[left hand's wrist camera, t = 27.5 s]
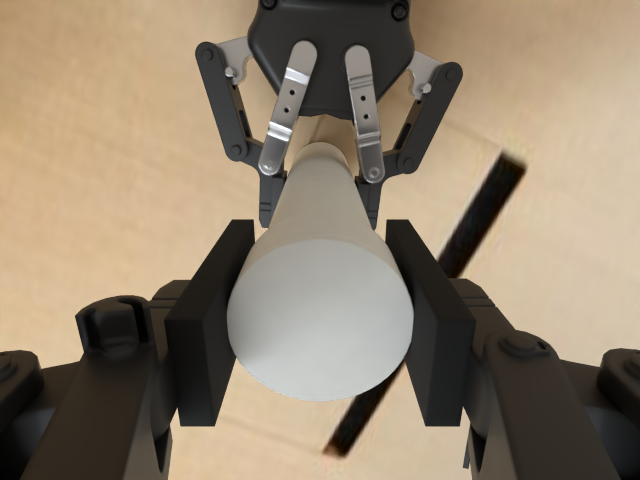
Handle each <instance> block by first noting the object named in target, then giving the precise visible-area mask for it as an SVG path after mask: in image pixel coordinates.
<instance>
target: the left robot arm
mask: <svg viewBox="0 0 640 480" xmlns="http://www.w3.org/2000/svg"><path fill="white" fill-rule="evenodd" d="M385 243H386V245H387V246H388V248H389V249H390V251H391V253H392V255H393V257H394V260H395V262H396V264H397V266H398V269H399V271H400V273H401V275H402V278H403V280H404V282H405V285H406V287H407V289H408V292H409V294H410V297H411V300H412V304H413V308H414V318H413V329H412V339H411V343H410V345H409V348H408V350H407V352H406V354H405V356H404V359H405V362H406V366H407V369H408V372H409V375H410V378H411V381H412V385H413V388H414V391H415V394H416V397H417V401H418V404H419V407H420V410H421V413H422V417H423V420H424V423H425V426H460V421H461V415H462V409H463V407H464V409H465V411H466V413H467V415H468V418H469V420H470V428H469V434H468V440H467V446H466V451H465V457H464V464H463V468H467V469H468V468H469V463H470V464H471V472H472V480H640V350H635V349H633V350H632V349H623V348H619V349H612V350H609V351H607V352H606V353H605V354H604V355H603V358H602V362H601V365H600V367H596V366H590V365H585V364H580V363H575V362H569V361H565V360H561V359H559V357H558V355H557V353H556V351H555V350H554V349H553V348H552V347H551V345H550V344H548V343H547V342H545V341H544V340H542V339H541V338H539V337H537V336H535V335H532V334H530V333H527V332H524V331H519V330H515V329H514V327H513V326H512V325H511V324H510V322H509V321H508V320H507V319H506V318H505V316H504V315H503V314H502V313H501V311H500V310H499V309H498V308H497V307H495V304H494V303H493V302H492V300H491V299H489V297H488V296H487V294H486V293H485V292H484V291H483V289H482V288H481V287H480V286H478V285H476V284H475V283H473V282H471V281H470V280H468V279H448V277H447V276H446V274H445V273H444V271H443V270H442V269H441V267H440V266H439V264H438V263H437V261H436V260H435V258H434V257H433V255H432V254H431V252H430V251H429V249H428V248H427V247H426V245H425V244H424V242H423V241H422V239H421V238H420V236H419V235H418V233H417V232H416V230H415V229H414V227H413V226H412V224H411V223H410V222H409V220H387V222H386V239H385ZM254 244H255V235H254V220H231V222H230V223H229V225H228V226H227V228H226V229H225V231H224V232H223V234H222V235H221V237H220V238H219V240H218V241H217V242H216V244H215V245H214V247H213V248H212V250H211V251H210V253H209V254H208V256H207V257H206V259H205V260H204V262H203V263H202V265H201V266H200V267H199V269H198V270H197V272H196V273H195V275H194V276H193V278H192V279H191V280H173V281H171V282H170V283H168V284H166V285H165V286H163V287H161V288H160V289H159V290H158V291H157V293H156V294H155V295H154V296H153V298H152V300H150V301H147V300H146V299H145V298H143V297H139V296H134V295H124V296H115V297H110V298H106V299H103V300H100V301H97V302H94V303H92V304H90V305H88V306H86V307H85V308H83V309H81V310H80V311H79V312H78V313H77V314H76V315H75V318H76V322H77V326H78V330H79V334H80V338H81V342H82V346H83V350H84V354H83V356H82V358H81V360H80V361H78V362H74V363H70V364H65V365H59V366H54V367H49V368H44V369H41V367H40V364H39V360H38V357H37V356H36V355H35V354H34V353H32V352H30V351H23V350H16V351H5V352H0V480H168V473H169V465H170V457H171V449H172V442H173V441H172V434H171V428H170V423H171V420H172V418H173V416H174V414H175V411H176V409H177V407H178V413H179V420H180V426H215V424H216V421H217V417H218V414H219V411H220V408H221V405H222V401H223V398H224V395H225V392H226V389H227V385H228V382H229V379H230V376H231V373H232V369H233V366H234V363H235V360H236V355H235V354H234V351H233V349H232V347H231V345H230V341H229V336H228V326H227V313H226V311H227V306H228V301H229V298H230V295H231V293H232V290H233V288H234V285H235V283H236V281H237V279H238V276H239V274H240V272H241V269H242V267H243V265H244V263H245V260H246V258H247V256H248V254H249V252H250V250H251V248H252V247H253V245H254Z"/></svg>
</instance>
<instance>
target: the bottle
mask: <svg viewBox="0 0 640 480" xmlns="http://www.w3.org/2000/svg"><path fill="white" fill-rule="evenodd" d="M309 212H332V213H338V214H342V215H346V216H349V217H351V218H354V219H356V220H358V221H360V222H362V223H364V224H365V225H367V226H368V227H370V228H371V229H372V227H371V225H370V222H369V219H368V217H367V214H366V211H365V209H364V206H363V203H362V201H361V198H360V195H359V193H358V190H357V187H356V185H355V182H354V179H353V177H352V174H351V171H350V169H349V166H348V163H347V161H346V158H345V156H344V155H343V153H342V152H341V151H340V150H339V149H338V148H337V147H335V146H334V145H331V144H329V143H325V142H315V143H311V144H309V145H307V146H305V147H303V148H302V149H301V150H300V151H299V152H298V153H297V155H296V157H295V159H294V161H293V164H292V166H291V169H290V172H289V174H288V177H287V180H286V182H285V185H284V188H283V190H282V193H281V196H280V198H279V201H278V204H277V207H276V209H275V212H274V215H273V217H272V220H271V223H270V225H269V228H271V227H272V226H273V225H275V224H277V223H279V222H280V221H282V220H284V219H287V218H289V217H291V216H295V215H298V214H302V213H309ZM269 228H268V229H269Z"/></svg>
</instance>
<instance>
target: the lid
mask: <svg viewBox="0 0 640 480" xmlns="http://www.w3.org/2000/svg"><path fill="white" fill-rule="evenodd" d="M226 313H227V326H228V336H229V341H230V345H231V347H232V349H233V351H234V354H235V355H236V357H237V359H238V360H239V362H240V363H241V365H242V366H243V367H244V368H245V369H246V371H247V372H248V373H249V374H250V375H251V376H252V377H254V378H255V379H256V380H257V381H259V382H260V383H261V384H263V385H264V386H266V387H268V388H269V389H271V390H273V391H275V392H278V393H280V394H282V395H285V396H288V397H292V398H295V399H300V400H306V401H334V400H340V399H345V398H349V397H352V396H355V395H358V394H361V393H363V392H365V391H367V390H369V389H371V388H373V387H374V386H376V385H378V384H379V383H381V382H382V381H383V380H384V379H386V378H387V377H388V376H389V375H390V374H391V373H392V372H393V371H394V370H395V369H396V368H397V366H398V365H399V364H400V362H401V361H402V360H403V358H404V356H405V354H406V352H407V350H408V348H409V345H410V343H411V339H412V329H413V318H414V308H413V304H412V300H411V297H410V294H409V292H408V289H407V287H406V285H405V282H404V280H403V278H402V275H401V273H400V271H399V269H398V266H397V264H396V262H395V260H394V257H393V255H392V253H391V251H390V249H389V248H388V246H387V245H386V243H385V242H384V241H383V239H382V238H381V237H380V236H379V235H378V234H377V233H376V232H375V231H374V230H372V229H371V228H370V227H368V226H367V225H365V224H364V223H362V222H360V221H358V220H356V219H354V218H351V217H349V216H346V215H342V214H338V213H332V212H309V213H302V214H298V215H295V216H291V217H289V218H287V219H284V220H282V221H280V222H279V223H277V224H275V225H273V226H272V227H271V228H269V229H268V230H267V231H266V232H264V233H263V235H262V236H261V237H260V238H259V239H258V240H257V241H256V242H255V244H254V245H253V247H252V248H251V250H250V252H249V254H248V256H247V258H246V260H245V263H244V265H243V267H242V269H241V272H240V274H239V276H238V279H237V281H236V283H235V285H234V288H233V290H232V293H231V295H230V298H229V301H228V306H227V311H226Z"/></svg>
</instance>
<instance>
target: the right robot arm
mask: <svg viewBox="0 0 640 480" xmlns="http://www.w3.org/2000/svg"><path fill="white" fill-rule="evenodd" d="M410 5H411V0H258V8H257V12H256V15H255V18H254V20H253V22H252V24H251V25H250V27H249V30H248V34H247V36H245V37H241V38H237V39H234V40H230V41H226V42H222V43H219V44H214V43H210V42H202V43H200V44H199V45H198V46H197V48H196V51H195V56H196V60H197V63H198V66H199V70H200V73H201V76H202V79H203V82H204V86H205V89H206V92H207V95H208V98H209V101H210V105H211V108H212V111H213V114H214V117H215V121H216V124H217V127H218V130H219V133H220V136H221V140H222V143H223V146H224V149H225V152H226V155H227V156H228V158H229V159H231V160H232V161H237V162H238V161H241V162H244V163H246V164H248V165H250V166H252V167H254V168H255V169H256V170H257V171H258V173H259V176H260V199H259V202H260V203H259V220H260V223H261V226H262V227H263V228H269V225H270V223H271V220H272V217H273V215H274V212H275V209H276V207H277V204H278V201H279V198H280V196H281V193H282V190H283V188H284V185H285V182H286V180H287V171H284V158H285V155H286V152H287V149H288V146H289V143H290V140H291V137H292V135H293V132H294V129H295V126H296V123H297V121H298V118H299V116H309V117H311V116H316V115H322V114H328V115H331V116H334V117H337V118H339V119H346V120H351V126H352V131H353V136H354V140H355V146H356V152H357V157H358V163H359V168H360V169H359V176H355V180H354V182H355V185H356V187H357V190H358V193H359V195H360V198H361V201H362V203H363V206H364V209H365V211H366V214H367V217H368V219H369V222H370V225H371V227H372V230H375V229H376V225H377V217H378V210H379V202H380V195H381V188H382V185H383V183H384V182H385V180H386V179H388V178H389V177H392V176H395V175H399V174H403V173H404V174H411V173H413V172H415V171H416V170H417V168H418V167H419V165H420V163H421V161H422V159H423V157H424V155H425V152H426V150H427V148H428V146H429V144H430V142H431V140H432V138H433V136H434V134H435V132H436V130H437V128H438V126H439V124H440V122H441V120H442V118H443V116H444V114H445V112H446V110H447V108H448V106H449V104H450V102H451V100H452V98H453V96H454V94H455V92H456V89H457V87H458V85H459V83H460V81H461V79H462V76H463V71H462V68H461V66H460V65H459V64H458V63H455V62H449V63H441V62H439V61H437V60H435V59H432V58H430V57H428V56H426V55H424V54H422V53H420V52H417V51H415V45H414V40H413V37H412V35H411V31H410V26H409V13H410ZM252 57H254V59H255V60H256V62H257V64H258V65H259V67H260V69H261V70H262V72H263V73H264V75H265V77H266V78H267V80H268V82H269V83H270V85H271V87H272V88H273V90H274V91H275V93H276V95H277V96H278V98H277V101H276V105H275V108H274V111H273V114H272V117H271V120H270V124H269V128H268V133H267V136H266V139H265V142H264V143H262V142H260V141H258V140H256V139H253V137H252V133H251V130H250V126H249V123H248V119H247V116H246V112H245V109H244V105H243V102H242V98H241V95H240V91H239V88H238V85H240V84H242V83H243V82H244V81H245V79H246V75H247V73H246V65H247V62H248V61H249V59H251V58H252ZM405 70H406V71H407V72H408V73H409V75H410V85H409V94H410V96H411V97H412V98H413V99H415V101H414V103H413V106H412V108H411V110H410V112H409V114H408V116H407V119H406V121H405V123H404V125H403V127H402V129H401V132H400V134H399V136H398V138H397V140H396V142H395V145H394V147H393V149H392V150H389V151H385V152H382V147H381V140H380V138H381V134H380V126H379V119H378V113H377V106H376V104H377V103H378V102H379V100H380V99H381V98H382V97H383V96H384V94H385V93H386V92H387V91H388V90H389V89H390V87H391V86H392V85H393V84H394V83H395V82H396V80H397V79H398V78H399V77H400V76H401V75H402V73H403V72H404V71H405Z"/></svg>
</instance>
